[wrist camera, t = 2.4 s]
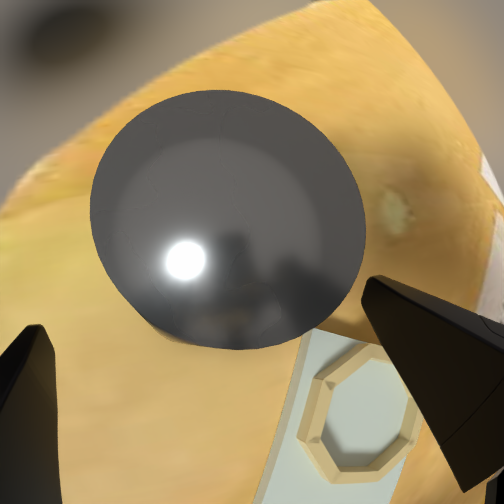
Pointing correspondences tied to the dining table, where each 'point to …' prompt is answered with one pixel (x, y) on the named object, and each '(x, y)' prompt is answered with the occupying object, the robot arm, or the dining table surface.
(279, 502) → the collar board
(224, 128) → the grey metal peg
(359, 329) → the dining table surface
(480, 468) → the robot arm
